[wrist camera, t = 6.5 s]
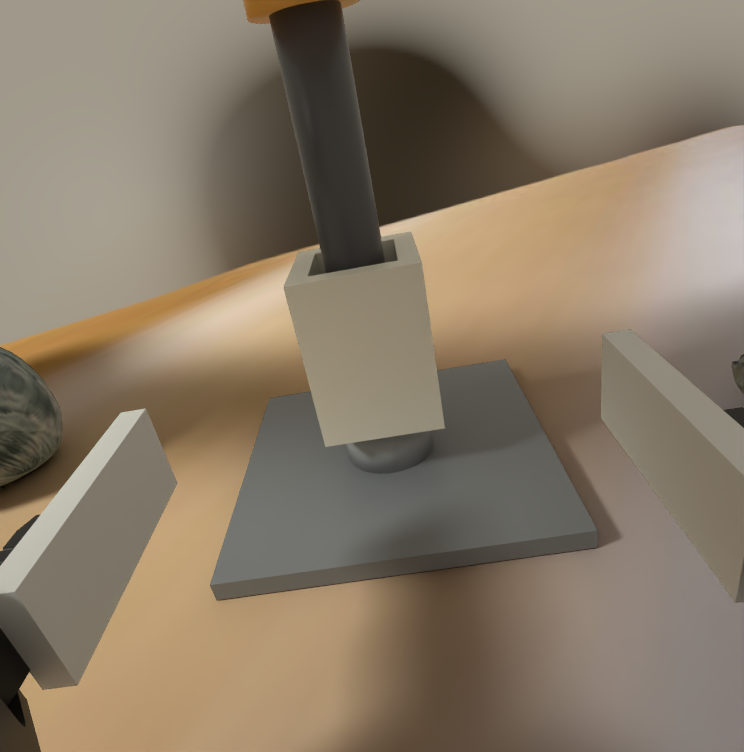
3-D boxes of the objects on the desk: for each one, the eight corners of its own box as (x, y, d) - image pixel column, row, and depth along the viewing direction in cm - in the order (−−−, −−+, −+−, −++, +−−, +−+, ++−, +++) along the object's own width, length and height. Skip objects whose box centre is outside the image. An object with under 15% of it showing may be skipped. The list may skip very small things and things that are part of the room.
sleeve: (444, 428, 22) (421, 262, 19) (325, 447, 23) (283, 286, 20) (431, 373, 27) (411, 231, 24) (331, 389, 27) (298, 252, 24)
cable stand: (597, 547, 19) (610, -514, 9) (216, 600, 20) (-178, -301, 10) (506, 371, 32) (466, -155, 21) (272, 409, 33) (125, -77, 22)
